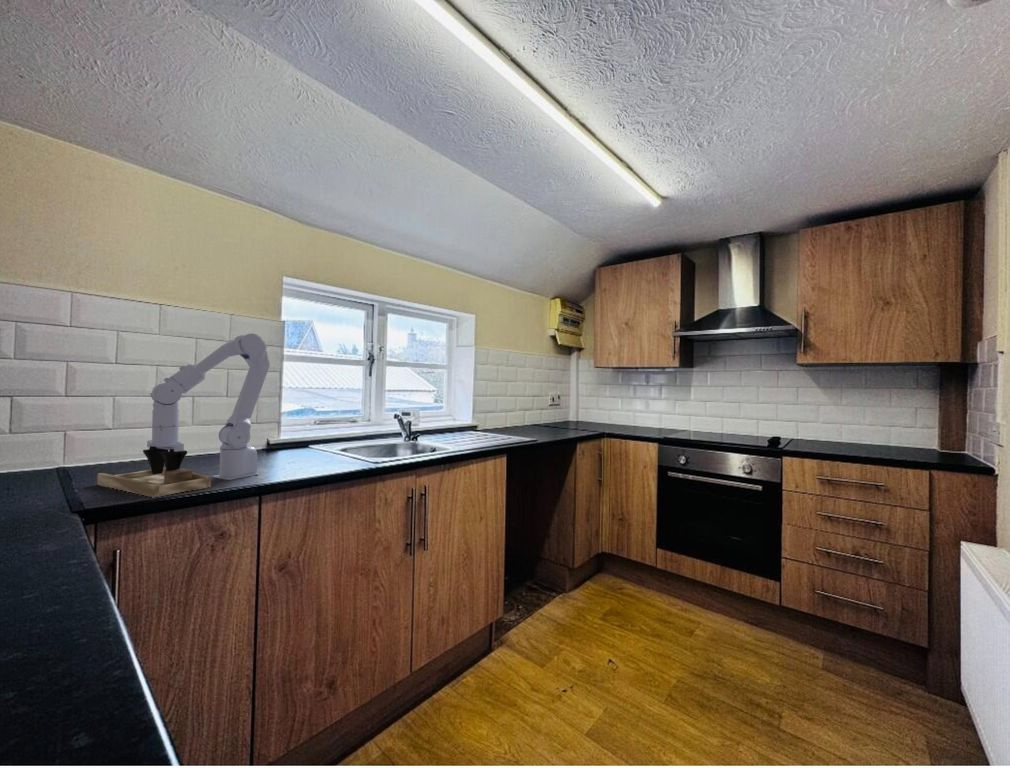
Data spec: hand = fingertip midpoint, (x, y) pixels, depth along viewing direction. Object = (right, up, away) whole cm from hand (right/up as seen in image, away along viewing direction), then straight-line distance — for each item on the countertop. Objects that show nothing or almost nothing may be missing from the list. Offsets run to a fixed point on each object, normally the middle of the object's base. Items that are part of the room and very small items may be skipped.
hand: (164, 475), depth 118 cm
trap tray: (-2, -3, -1) cm, 4 cm away
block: (+6, -1, -3) cm, 7 cm away
